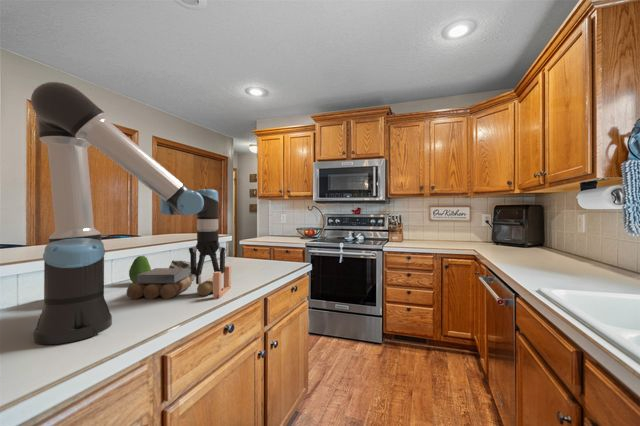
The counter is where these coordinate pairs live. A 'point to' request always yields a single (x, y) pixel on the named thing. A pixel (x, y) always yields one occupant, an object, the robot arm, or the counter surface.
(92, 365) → the counter surface
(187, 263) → the rock
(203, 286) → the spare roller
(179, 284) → the brown bread rolls
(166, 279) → the slab
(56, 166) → the robot arm
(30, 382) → the counter surface
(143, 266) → the fruit
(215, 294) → the wooden u-shaped block
